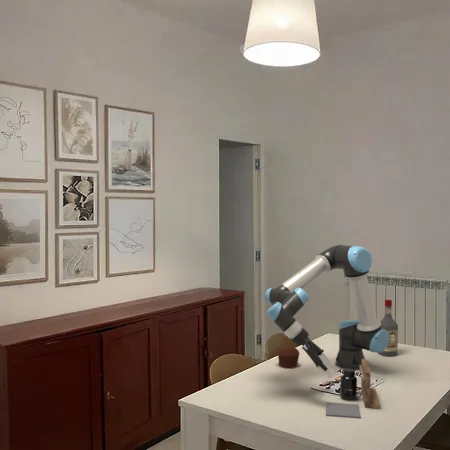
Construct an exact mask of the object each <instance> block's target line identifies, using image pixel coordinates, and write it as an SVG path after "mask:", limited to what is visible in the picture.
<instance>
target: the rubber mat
mask: <svg viewBox="0 0 450 450" xmlns="http://www.w3.org/2000/svg"><path fill="white" fill-rule="evenodd" d="M325 416H326V417H338V418H339V417H340V418H351V419H361V418H362V415H361V411H360V406H359V404H356V403H343V402H330V401H329V402H327V401H326V402H325Z"/></svg>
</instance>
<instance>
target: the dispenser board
mask: <svg viewBox="0 0 450 450" xmlns="http://www.w3.org/2000/svg"><path fill="white" fill-rule="evenodd" d="M359 367H360V369H359V371H360V374H361V377H360V378H361V380H360V381H361V382H360V391H361V397H362V400H363V405H364V408H366V409H367V408H369V409H381V402H380V400H379V395H378V393H377V390H376V388H374V387H371V370H370V367H369V364H368V360H367V359H366V358H365V359H362V366H361V365H360V366H359Z"/></svg>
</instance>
